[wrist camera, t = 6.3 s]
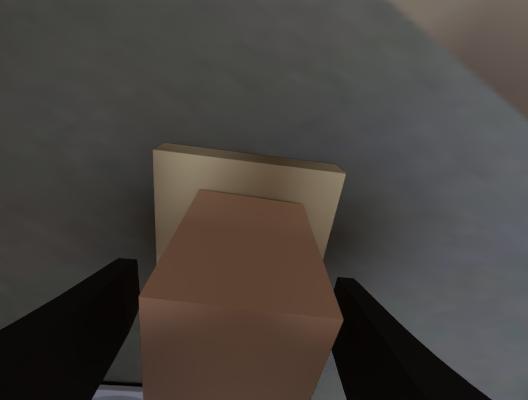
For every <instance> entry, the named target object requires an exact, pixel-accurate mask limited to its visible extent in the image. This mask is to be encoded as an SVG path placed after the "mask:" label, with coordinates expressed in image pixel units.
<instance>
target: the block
mask: <svg viewBox="0 0 528 400" xmlns="http://www.w3.org/2000/svg"><path fill="white" fill-rule="evenodd" d="M139 319H140V342H141V365H142V387H143V400H311V398H312V395H313V393H314V390H315V388H316V386H317V383H318V381H319V378H320V376H321V373H322V371H323V369H324V366H325V364H326V361H327V359H328V356H329V354H330V352H331V349H332V347H333V344H334V342H335V339H336V337H337V335H338V332H339V330H340V327H341V325H342V323H343V317H342V314H341V311H340V308H339V305H338V303H337V300H336V297H335V294H334V291H333V288H332V285H331V283H330V280H329V277H328V274H327V271H326V268H325V265H324V263H323V260H322V257H321V254H320V251H319V248H318V245H317V243H316V240H315V237H314V234H313V231H312V228H311V225H310V223H309V220H308V217H307V214H306V211H305V208H304V205H303V204H296V203H289V202H282V201H276V200H269V199H262V198H255V197H249V196H242V195H235V194H228V193H222V192H215V191H208V190H201V189H199V191H198V193H197V194H196V196H195V198H194V200H193V201H192V203H191V205H190V207H189V209H188V210H187V212H186V214H185V216H184V217H183V219H182V221H181V223H180V224H179V226H178V228H177V230H176V232H175V233H174V235H173V237H172V239H171V240H170V242H169V244H168V246H167V247H166V249H165V251H164V253H163V255H162V256H161V258H160V260H159V262H158V263H157V265H156V267H155V269H154V270H153V272H152V274H151V276H150V278H149V279H148V281H147V283H146V285H145V286H144V288H143V290H142V292H141V293H140V295H139Z"/></svg>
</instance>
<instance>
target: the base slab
mask: <svg viewBox="0 0 528 400" xmlns="http://www.w3.org/2000/svg"><path fill="white" fill-rule="evenodd" d="M153 171H154V201H155V230H156V260H157V263H158V262H159V260H160V258H161V256H162V255H163V253H164V251H165V249H166V247H167V246H168V244H169V242H170V240H171V239H172V237H173V235H174V233H175V232H176V230H177V228H178V226H179V224H180V223H181V221H182V219H183V217H184V216H185V214H186V212H187V210H188V209H189V207H190V205H191V203H192V201H193V200H194V198H195V196H196V194H197V193H198V191H199V189H201V190H208V191H215V192H222V193H228V194H235V195H242V196H249V197H255V198H262V199H269V200H276V201H282V202H289V203H296V204H303V205H304V208H305V211H306V214H307V217H308V220H309V223H310V225H311V228H312V231H313V234H314V237H315V240H316V243H317V245H318V248H319V251H320V254H321V257H322V260H323V258H324V254H325V250H326V246H327V243H328V239H329V235H330V232H331V228H332V224H333V220H334V217H335V213H336V209H337V206H338V202H339V198H340V195H341V191H342V187H343V183H344V180H345V176H346V173H345V172H344V171H343V170H342V169H341V168H339V167H338V166H337V165H335V164H327V163H319V162H311V161H303V160H295V159H288V158H280V157H272V156H264V155H256V154H249V153H241V152H233V151H225V150H217V149H209V148H202V147H194V146H186V145H178V144H170V143H163V144H162V145H160V146H158V147H156V148H155V149H153Z"/></svg>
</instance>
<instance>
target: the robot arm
mask: <svg viewBox="0 0 528 400" xmlns="http://www.w3.org/2000/svg"><path fill="white" fill-rule="evenodd" d="M334 294H335V297H336V300H337V303H338V305H339V308H340V311H341V314H342V317H343V323H342V325H341V327H340V330H339V332H338V335H337V337H336V339H335V342H334V344H333V347H332V349H331V350H332V353H333V356H334V360H335V363H336V366H337V370H338V373H339V376H340V379H341V383H342V386H343V389H344V392H345V396H346V399H347V400H491V399H490V398H489V397H487V396H486V395H485V394H483V393H482V392H481V391H479V390H478V389H477V388H475V387H474V386H473V385H471V384H470V383H469V382H468V381H466V380H465V379H464V378H463V377H461V376H460V375H459V374H458V373H456V372H455V371H454V370H453V369H451V368H450V367H449V366H448V365H446V364H445V363H444V362H443V361H442V360H440V359H439V358H438V357H437V356H436V355H434V354H433V353H432V352H431V351H430V350H429V349H428V348H427V347H425V346H424V345H423V344H422V343H421V342H420V341H419V340H417V339H416V338H415V337H414V336H413V335H412V334H411V333H410V332H409V331H408V330H406V329H405V328H404V327H403V326H402V325H401V324H400V323H399V322H398V321H397V320H396V319H395V318H394V317H393V316H392V315H391V314H390V313H389V312H388V311H387V310H386V309H385V308H384V307H383V306H382V305H381V304H380V303H378V302H377V301H376V300H375V299H374V298H373V297H372V296H371V295H370V294H369V293H368V292H367V291H366V290H365V289H364V288H363V287H362V286H361V285H360V284H359V283H358V282H357V281H356V280H355V279H354V278H343V277H337V281H336V284H335V288H334ZM139 295H140V291H139V278H138V266H137V260H136V259H124V258H118V259H117V260H115V261H113V262H112V263H110V264H108V265H107V266H105V267H104V268H102V269H101V270H99V271H97V272H96V273H94V274H93V275H91V276H90V277H88V278H87V279H85V280H83V281H82V282H80V283H79V284H77V285H76V286H74V287H72V288H71V289H69V290H68V291H66V292H64V293H63V294H61V295H60V296H58V297H56V298H55V299H53V300H51V301H50V302H48V303H46V304H44V305H43V306H41V307H39V308H38V309H36V310H34V311H33V312H31V313H29V314H27V315H26V316H24V317H22V318H21V319H19V320H17V321H15V322H14V323H12V324H10V325H8V326H6V327H5V328H3V329H1V330H0V400H143V387H136V386H117V385H100V384H101V382H102V380H103V379H104V377H105V375H106V373H107V372H108V370H109V368H110V366H111V364H112V363H113V361H114V359H115V357H116V355H117V354H118V352H119V350H120V348H121V346H122V345H123V343H124V341H125V339H126V337H127V335H128V333H129V331H130V329H131V327H132V324H133V322H134V320H135V317H136V315H137V312H138V310H139Z"/></svg>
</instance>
